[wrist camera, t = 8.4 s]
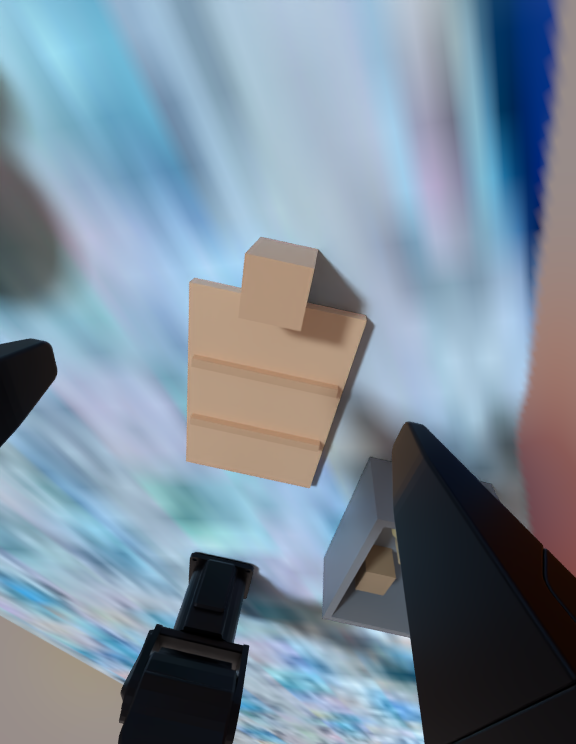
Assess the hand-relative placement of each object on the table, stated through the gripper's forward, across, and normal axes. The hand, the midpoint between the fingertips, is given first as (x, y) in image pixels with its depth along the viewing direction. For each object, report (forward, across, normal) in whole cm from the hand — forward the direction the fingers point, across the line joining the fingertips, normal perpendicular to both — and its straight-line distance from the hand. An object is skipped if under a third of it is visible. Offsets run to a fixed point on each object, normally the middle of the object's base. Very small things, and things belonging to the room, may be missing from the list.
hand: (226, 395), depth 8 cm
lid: (+11, 0, +7) cm, 13 cm away
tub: (+11, -13, +19) cm, 25 cm away
